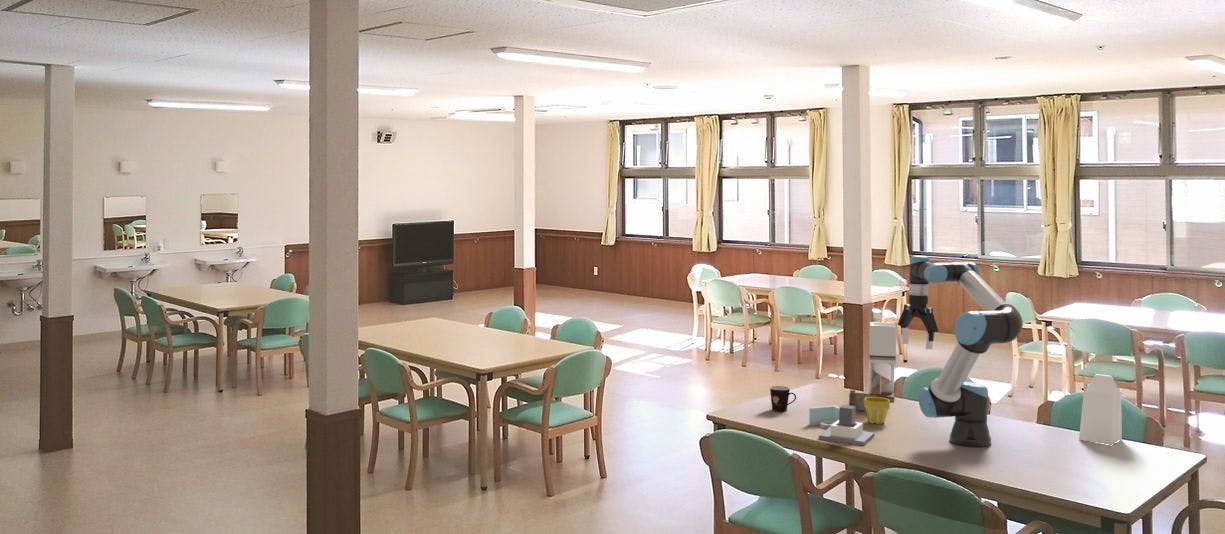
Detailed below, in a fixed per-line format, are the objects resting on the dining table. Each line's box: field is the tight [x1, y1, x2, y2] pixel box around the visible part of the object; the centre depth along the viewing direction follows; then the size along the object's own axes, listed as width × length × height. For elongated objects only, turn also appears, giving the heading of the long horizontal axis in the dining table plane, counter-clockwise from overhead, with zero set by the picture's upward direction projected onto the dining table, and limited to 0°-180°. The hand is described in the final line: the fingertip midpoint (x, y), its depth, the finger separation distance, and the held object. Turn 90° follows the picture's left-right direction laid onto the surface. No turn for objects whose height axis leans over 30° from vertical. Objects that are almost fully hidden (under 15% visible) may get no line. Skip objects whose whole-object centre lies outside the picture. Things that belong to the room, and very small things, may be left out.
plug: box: [838, 404, 856, 427], centre depth 376 cm, size 5×5×11 cm
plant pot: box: [864, 397, 891, 425], centre depth 400 cm, size 10×10×10 cm
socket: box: [818, 420, 875, 447], centre depth 377 cm, size 18×15×6 cm
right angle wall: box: [808, 405, 840, 429], centre depth 393 cm, size 12×12×8 cm
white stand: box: [867, 321, 898, 402], centre depth 442 cm, size 11×11×35 cm
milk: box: [1078, 373, 1123, 445], centre depth 372 cm, size 12×12×26 cm
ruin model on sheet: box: [848, 389, 876, 412], centre depth 421 cm, size 11×3×10 cm, turn 74°
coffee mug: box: [769, 385, 797, 413], centre depth 420 cm, size 12×9×10 cm
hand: (916, 346), depth 384 cm, fingers open, 13 cm apart
